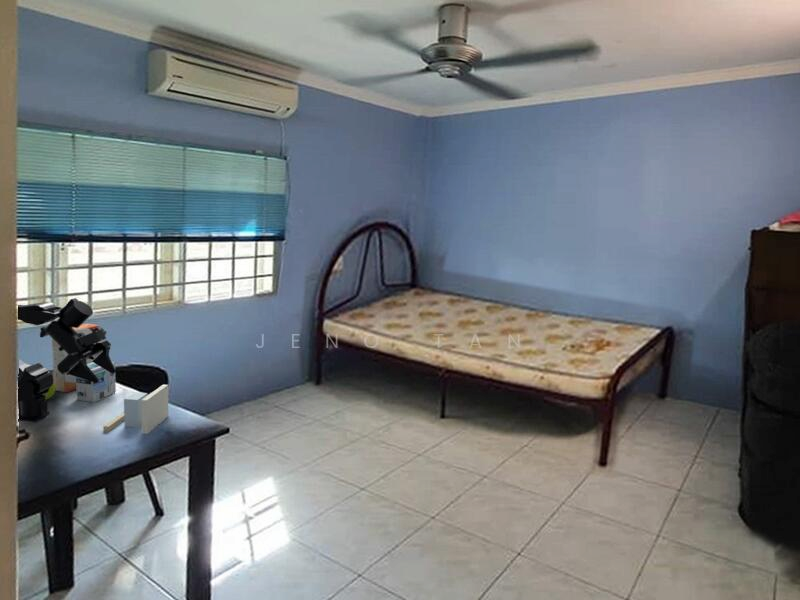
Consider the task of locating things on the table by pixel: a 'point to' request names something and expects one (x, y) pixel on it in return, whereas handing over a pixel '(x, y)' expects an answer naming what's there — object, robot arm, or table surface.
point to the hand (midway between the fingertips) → (106, 377)
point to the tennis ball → (50, 392)
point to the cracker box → (63, 380)
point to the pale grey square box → (133, 409)
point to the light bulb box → (96, 384)
